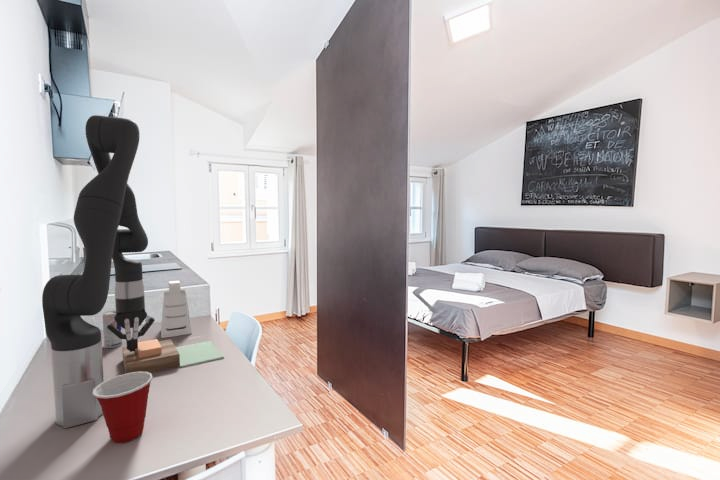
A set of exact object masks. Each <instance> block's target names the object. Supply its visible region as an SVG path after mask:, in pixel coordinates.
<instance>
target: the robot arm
mask: <svg viewBox="0 0 720 480" xmlns="http://www.w3.org/2000/svg"><path fill="white" fill-rule="evenodd" d="M85 138H86V143H87V145H88V148H89V152H90V154H91V158H92V160H93V163H94V165H95V168H96V172H97V175H96V176H94V177H93V178H92V179H91V180H90V181H89V182H88V183H86V185H84V186H83V188H82V189H81V190H80V192H79V194H78V197H77V201H76V204H75V209H74V212H73V224H74V226H75V229H76V232H77V234H78V235H79V236H78V237H79V238H80V240H81V242H82V245H83V247H84V250H85V251H84V252H85V262H84V266H83V267H84V268H83V271H82V274H59V275H55V276H53V277H51V278H50V279H49V280H48V281H47V282H46V283H45V285H44V287H43V290H42V297H41V303H42V304H41V305H42V313H43V318H44V320H43V321H44V328H45V334H46V337H47V339H48V340H49V342H50V347H51V361H52V362H51V363H52V380H53V397H54V409H55V410H54V411H55V423H56V425H58V426H61V427H63V429H67V428H71V427H75V426H79V425H84V424H86V423H91V422H95V421H97V420H98V419H99V417H101V416H103V412H102V408H101V405H100V404H99V401H98V400H97V398H96V397H95V396H94V395H93V394H92V393H93V389H94V388H96V387H97V386H98V385H99V384H101V383H103V382H104V366H103V364H104V363H103V362H104V361H103V344H102V331H101V329H100V328H99V327H98V326H96V325H94V324H91V323H89V322H87V321H86V320H84V318H82V317H83V316H84V317H85V316H88V317H89V316H95V315H97V314H99V313H100V312H101V311H102V310H103V309H104V307H105V305H106V304H107V303H106V302H107V300H108V295H109V291H110V282H111V281H110V280H111V272H112V264H113V267H114V279H115V282H114V283H115V285H114V297H115V298H114V300H115V303H114V304H115V311H116V315H115V317H114V320H113V321H112V322H111V323H108V324H107V328H108V329H109V330H110V331H111V332H113V333H114V334H115V335H116V336H117V337H119V338H120V339H122V340H125V341H126V347H127V350H130V352H132V351H135V349H137V348H138V342H139V340H138V339H139V338H140V337H143V336H144V335H146V333H147V331H148V330H149V329H150V327H151V326H152V325H153V324H154V323H155V320H156V319H155V318H154V317H153V316H150V315H148V312H146V304H145V303H146V302H145V301H146V300H145V285H144V284H145V283H144V279H143V278H144V277H143V265H142V262H141V261H139V260H136V259H130V258H126V257H125V256H124V255H123V254H127V253H129V254H131V253H142V252H144V251H145V250H146V249H147V247H148V245H149V239H148V236H147V233H146V231H145V230H144V228H143V224H141V221H140V219H139V218H140V217H139V214H138V209H137V207H138V206H137V202H136V201H137V199H136V196H135V193H134V191H133V189H132V188H131V186H130V184H129V183H128V182H129V177H130V174H131V170H132V168H133V167H132V166H133V164H134V162H135V158H136V155H137V151H138V147H139V143H140V129H139V126H138V124H137V122H135V120H132V119H130V118H129V119H128V118H126V117H125V118H124V117H115V116H106V115H98V114H97V115H91V116H90V117H89V118H88V119H87V120H86V123H85ZM110 154H113V155H112V157H111V155H110ZM119 227H124V228H126V229H123V228H121V229H119ZM143 322H144V324H143ZM116 323H118V324H119V325H120V326H121V329H124V333H123V332H121V331H122V330H121V331H119V330H118V329H117V328H116V327H117V325H116ZM142 324H143V325H142ZM141 325H142V326H141ZM140 326H141V329H140V330H139V327H140ZM131 329H132V332H131Z"/></svg>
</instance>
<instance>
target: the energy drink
mask: <svg viewBox="0 0 720 480" xmlns="http://www.w3.org/2000/svg"><path fill="white" fill-rule="evenodd" d="M115 315H116V310H110V311H109V310H108V311H105V312H103V314H102V330H103V331H102V332H103V346H104V348H105V349H115V348H118V347H120V346H122V344H123V339H120V338H119V337H117V336H116V335H115V334H114V333H113V332H111V331H110V330H109V329H108V328H107V324H108V323H111V322H112V321H113V320H114V317H115ZM116 325H117V327H116V328H117V329H118V330H119V331H121V332H122V327H121V326H120V325H119V324H118V323H116ZM122 333H123V332H122Z"/></svg>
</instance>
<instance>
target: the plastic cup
mask: <svg viewBox="0 0 720 480" xmlns="http://www.w3.org/2000/svg"><path fill="white" fill-rule="evenodd" d="M152 380H153V373H149V372H132V373H127V374H126V373H124V374H120V375H116V376H114V377H111V378H109V379H107V380H105V381H104V382H103V383H101V384H99V385H98V386H97V387H96V388H94V389H93V393H92V394H93V395H94V396H95V397H96V398H97V400H98V401H99V404H100V405H101V408H102V412H103V414H102V416H103V418H104V421H105V425H106V427H107V430H108V435H109V437H110V439H111V440H110V441H112V442H113V443H116V444H124V443H128V442H131V441H134V440H136V439H137V438H139V437H140V436H141V435H142V433H143V431H144V427H145V421H146V420H145V419H146V415H147V408H148V399H149V393H150V387H151V382H152Z"/></svg>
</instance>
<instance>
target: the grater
mask: <svg viewBox="0 0 720 480" xmlns="http://www.w3.org/2000/svg"><path fill="white" fill-rule="evenodd" d="M187 300H188V299H187V292H186V291H185V290H184V289H182V290H181V281H180V280H170V281H168V291H164V292H163V301H162V313H161V323H160V325H161V327H160V332H161V333H160V334H161V339H163V338H169V337H177V336H184V335H190V334H191V335H192V334H193V331H192V326H191V325H192V324H191V319H190V313H189V306H188V301H187ZM179 328H181V329H179ZM171 329H172V330H171Z"/></svg>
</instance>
